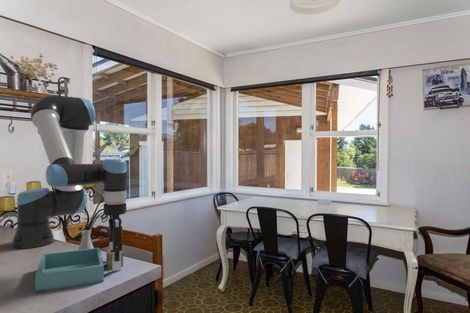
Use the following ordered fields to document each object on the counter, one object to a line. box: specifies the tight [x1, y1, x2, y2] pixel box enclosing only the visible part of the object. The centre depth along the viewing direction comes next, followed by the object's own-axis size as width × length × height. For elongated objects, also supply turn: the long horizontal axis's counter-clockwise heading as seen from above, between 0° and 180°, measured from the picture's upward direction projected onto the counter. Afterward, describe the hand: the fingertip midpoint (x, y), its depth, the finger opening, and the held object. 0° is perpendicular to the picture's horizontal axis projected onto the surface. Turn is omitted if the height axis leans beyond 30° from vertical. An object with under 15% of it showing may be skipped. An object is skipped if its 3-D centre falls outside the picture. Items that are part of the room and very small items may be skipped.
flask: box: [77, 229, 95, 250], centre depth 119 cm, size 7×7×10 cm
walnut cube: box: [106, 249, 124, 269], centre depth 112 cm, size 5×5×5 cm
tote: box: [34, 247, 105, 293], centre depth 103 cm, size 20×18×5 cm
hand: (114, 264), depth 112 cm, fingers open, 11 cm apart
